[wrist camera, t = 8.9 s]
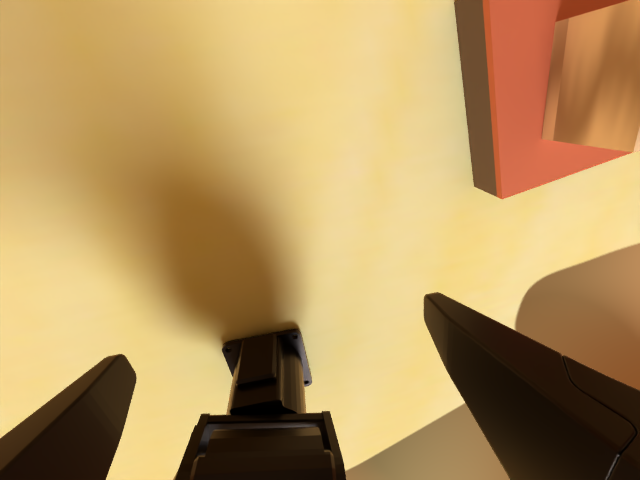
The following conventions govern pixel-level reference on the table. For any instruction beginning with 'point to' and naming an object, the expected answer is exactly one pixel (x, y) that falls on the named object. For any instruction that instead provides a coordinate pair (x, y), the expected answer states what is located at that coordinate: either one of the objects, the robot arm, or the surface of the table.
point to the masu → (596, 79)
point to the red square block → (516, 93)
